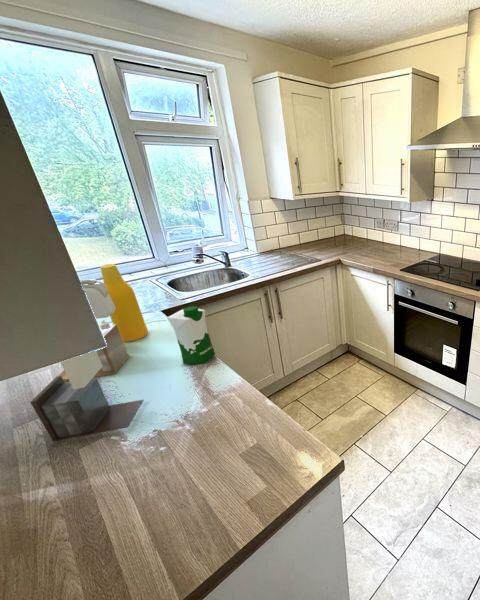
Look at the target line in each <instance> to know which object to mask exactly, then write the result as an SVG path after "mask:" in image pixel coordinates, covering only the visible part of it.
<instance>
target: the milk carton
mask: <svg viewBox="0 0 480 600" xmlns="http://www.w3.org/2000/svg"><path fill="white" fill-rule="evenodd" d="M166 318H167V320H168V321H169V323H170V326H171V327H172V328H173V331H174V334H175V337H176V340H177V343H178V346H179V350H180V354H181V359H182V364H184V365H191V366H199V365H204V364H205V363H207V362H209V361H210V360H211V359H212V358H214V357H215V356H216V352H215V350H214V349H215V348H214V347H213V344H212V341H211V337H210V333H209V330H208V329H209V328H208V326H207V322H206V309H201V308H199V307H198V306H197V305H188V306H185V307H184V308H182V309H180V310H178V311H176V312H175V313H173V314H171V315H169V316H167V317H166Z"/></svg>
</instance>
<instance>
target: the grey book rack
mask: <svg viewBox="0 0 480 600" xmlns="http://www.w3.org/2000/svg"><path fill="white" fill-rule="evenodd" d="M144 401H145V399H138V400H133V401H128V402H122V403H117V404H109V402H108V400H107V398H106V396H105V393H104V391H103V389H102V386H101V384H100V382H99V380H98V377H94V378H92V379H91V380H90V382H89V383H88V384H87V385H86V386H85V387H84V388H78V389H73V387H72V385H71V383H70V381H68V382H64V381H63V379H62V377H61V376H59V375H58V376H55V377H54V379H52V380H51V381H50V382H49V383H48V384H47V385H46V386H45V387H44V388H43V389H42V390H41V391H40V392H39V393H38V394H37V395H36V396H35V397H34V398H32V400H31V401H30V404H31V406H32V408H33V409H34V411H35V413H36V415H37V417H38V418H39V420H40V422H41V423H42V425H43V426H44V429H45V430H46V432H47V433H48V435H49V437H50V439H51V443H53V442H58V441H63V440H69V439H74V438H80V437H84V436H89V435H97V434H101V433H105V432H111V431H115V430H122V429H126V428H129V427H130V425H131V423H132V422H133V420H134V419H135V416H136V414H137V413H138V412H139V409H140V408H141V406H142V404H143V403H144Z"/></svg>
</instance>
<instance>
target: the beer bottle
mask: <svg viewBox="0 0 480 600" xmlns="http://www.w3.org/2000/svg"><path fill="white" fill-rule="evenodd" d="M99 269H100V273H101V276H102V280H103V283H104V284H105V285H106V288H107V291H108V294H109V296H110V297H111V299H112V301H113V303H114V305H115V311H114V312H113V313H112V314H111V315H110V316H109V318H110V320H111V322H112V325H115V324H116V325H117V327H118V330H119V332H120V335H121V337H122V340H123V342H125V343H126V342H127V343H128V342H134V341H138V340H140V339H142V338H145V337H146V336H147V335H148V332H149V329H148V326H147V325H146V322H145V319H144V315H143V313H142V310H141V308H140V305H139V302H138V299H137V297H136V294H135V291H134V289H133V288H132V287H131V286H130V284H128V282H127V281H125V279H123V276H122V275H121V273H120V271H119V269H118V266H117V265H116V264H115V263H108V264H102V265H101V266H99Z"/></svg>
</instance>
